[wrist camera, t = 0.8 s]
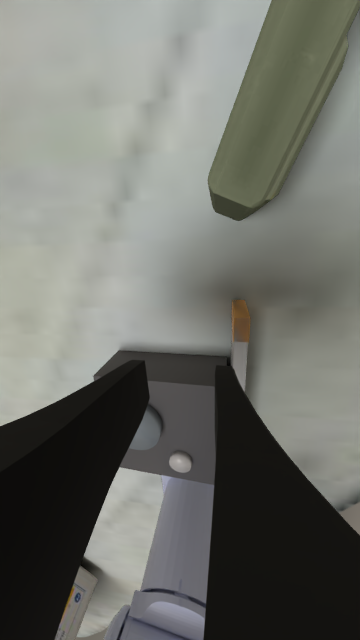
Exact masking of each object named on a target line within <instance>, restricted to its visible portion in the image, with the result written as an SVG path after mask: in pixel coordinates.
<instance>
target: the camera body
mask: <svg viewBox="0 0 360 640" xmlns="http://www.w3.org/2000/svg"><path fill="white" fill-rule="evenodd" d="M130 360H145V365H146V373H147V380H148V388H149V395H150V399H149V402H148V405H147V408H146V411H145V414H144V417H143V420H142V422H141V424H140V426H139V428H138V430H137V432H136V434H135V436H134V438H133V440H132V442H131V444H130V446H129V448H128V450H127V452H126V454H125V456H124V458H123V460H122V463H121V465H120V467H122V468H127V469H132V470H137V471H143V472H148V473H153V474H158V475H164V476H169V477H174V478H179V479H185V480H190V481H195V482H200V483H206V484H211V485H214V480H215V464H216V452H215V369H216V365H221V366H227V357H219V356H201V355H184V354H166V353H149V352H131V351H118V352H117V353H116V354H115V355H114V356H113V357H112V358H111V359H110V360H109V361H108V362H107V363H106V364H105V365H104V366H103V367H102V368H101V369H100V370H99V371H98V372H97V373H96V374H95V375H94V376H93V377H94V381H95V380H97V379H99V378H101V377H102V376H104V375H106V374H107V373H109V372H111V371H112V370H114V369H116V368H117V367H119V366H121V365H123V364H124V363H126V362H128V361H130Z"/></svg>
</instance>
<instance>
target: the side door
mask: <svg viewBox="0 0 360 640" xmlns="http://www.w3.org/2000/svg"><path fill="white" fill-rule="evenodd" d="M249 333H250V315H249V312H248V309H247V306H246V302H245V300H232V340H231V366H232V367H233V368H234V370H235V373H236V376H237V378H238V380H239V382H240V384H241V387H242V388H243V390H244V392H245V382H246V366H247V350H248V342H249Z"/></svg>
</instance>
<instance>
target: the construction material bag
mask: <svg viewBox="0 0 360 640" xmlns="http://www.w3.org/2000/svg"><path fill="white" fill-rule="evenodd" d="M97 581H98V580H97V579H96V578H95V576H94V575H93V574H91V573H90V572H89V571H87V570H86V569H84V568H83V567H82V566H80V567H79V570H78V573H77V576H76V579H75V581H74V584H73V587H72V590H71V593H70V596H69V599H68V601H67V604H66V607H65V610H64V613H63V616H62V619H61V622H60V625H59V628H58V631H57V634H56V637H55V640H75V639H76V636H77V633H78V631H79V628H80V625H81V623H82V620H83V617H84V615H85V612H86V609H87V607H88V604H89V601H90V599H91V596H92V593H93V591H94V588H95V585H96V583H97Z"/></svg>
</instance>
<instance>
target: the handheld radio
mask: <svg viewBox="0 0 360 640" xmlns="http://www.w3.org/2000/svg"><path fill="white" fill-rule="evenodd" d="M359 8H360V0H272V1H271V4H270V7H269V10H268V12H267V15H266V18H265V21H264V23H263V26H262V29H261V32H260V34H259V37H258V40H257V43H256V45H255V48H254V51H253V54H252V56H251V59H250V62H249V65H248V68H247V70H246V73H245V76H244V79H243V81H242V84H241V87H240V90H239V92H238V95H237V98H236V101H235V103H234V106H233V109H232V112H231V114H230V117H229V120H228V123H227V125H226V128H225V131H224V134H223V137H222V139H221V142H220V145H219V148H218V150H217V153H216V156H215V159H214V161H213V164H212V167H211V170H210V172H209V176H208V185H209V190H210V196H211V201H212V206H213V208H214V210H215V212H217V213H219V214H222V215H224V216H227V217H229V218H232V219H234V220H237V221H240V220H242V219H244V218H246V217H247V216H249V215H250V214H253V213H254V212H255V211H257V210H258V209H259V208H261V207H262V206H263V205H265V204H266V203H268V202H269V201H270V200H272V199H273V198H274V197H276V196H277V195H278V194H279V192H280V190H281V188H282V186H283V184H284V182H285V180H286V178H287V176H288V174H289V172H290V170H291V168H292V166H293V164H294V162H295V160H296V158H297V156H298V154H299V152H300V150H301V148H302V146H303V144H304V142H305V140H306V138H307V136H308V134H309V132H310V130H311V128H312V126H313V124H314V122H315V120H316V118H317V117H318V115H319V113H320V111H321V109H322V107H323V105H324V103H325V101H326V99H327V97H328V95H329V93H330V91H331V89H332V87H333V85H334V83H335V81H336V79H337V77H338V75H339V73H340V71H341V69H342V67H343V63H344V60H345V56H346V52H347V49H348V42H347V32H348V30H349V28H350V26H351V24H352V22H353V20H354V18H355V16H356V14H357V12H358V10H359Z"/></svg>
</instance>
